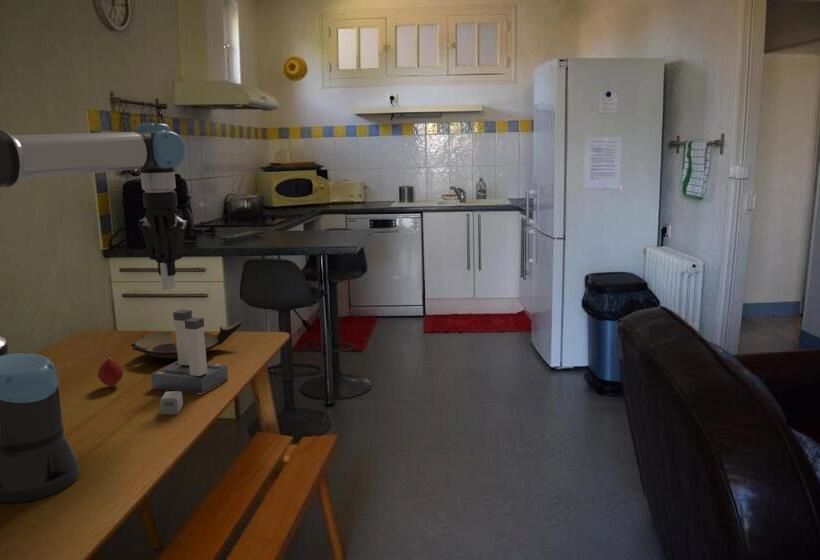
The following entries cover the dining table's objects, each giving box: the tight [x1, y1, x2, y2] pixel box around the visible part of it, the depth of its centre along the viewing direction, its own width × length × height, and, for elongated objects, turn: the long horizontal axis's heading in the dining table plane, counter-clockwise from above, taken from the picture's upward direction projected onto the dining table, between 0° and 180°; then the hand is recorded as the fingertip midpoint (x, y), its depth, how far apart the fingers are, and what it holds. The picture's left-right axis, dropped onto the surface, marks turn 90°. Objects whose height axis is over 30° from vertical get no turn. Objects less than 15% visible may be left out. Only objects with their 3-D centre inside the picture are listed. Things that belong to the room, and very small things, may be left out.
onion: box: [97, 356, 124, 388], centre depth 171 cm, size 6×6×8 cm
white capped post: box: [172, 309, 193, 365], centre depth 175 cm, size 3×3×14 cm
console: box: [150, 360, 229, 395], centre depth 173 cm, size 11×15×4 cm
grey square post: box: [185, 316, 208, 376], centre depth 167 cm, size 3×3×14 cm
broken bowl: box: [130, 321, 242, 360], centre depth 196 cm, size 22×30×8 cm
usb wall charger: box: [159, 391, 184, 416], centre depth 157 cm, size 4×7×4 cm, turn 6°
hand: (168, 288), depth 163 cm, fingers closed
